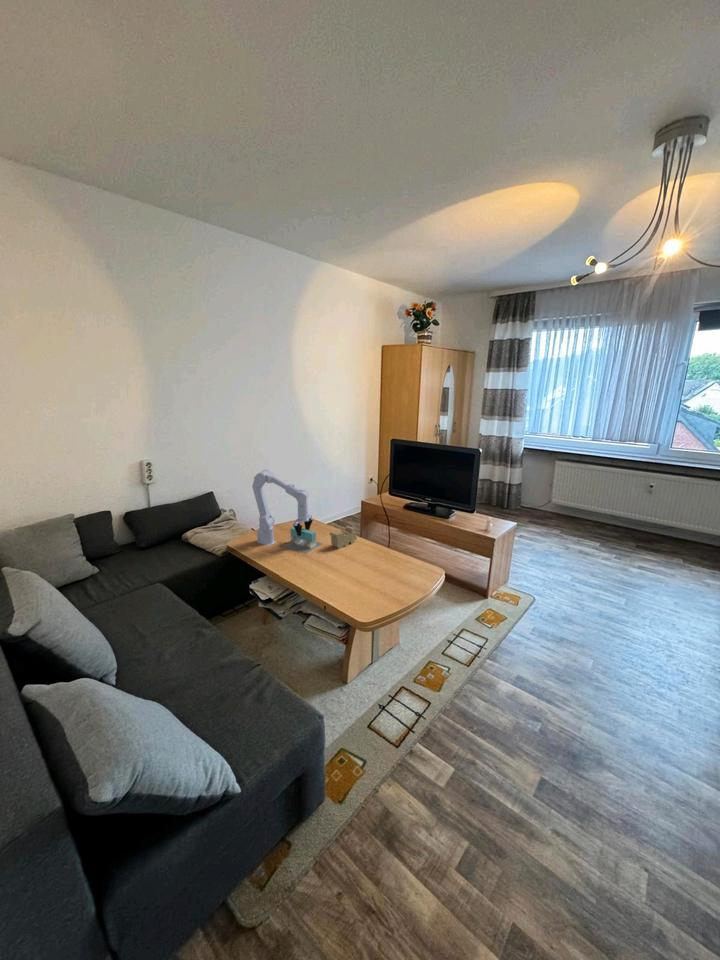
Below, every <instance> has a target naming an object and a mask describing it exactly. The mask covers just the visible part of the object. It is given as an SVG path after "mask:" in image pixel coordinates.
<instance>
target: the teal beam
mask: <svg viewBox="0 0 720 960" xmlns="http://www.w3.org/2000/svg"><path fill="white" fill-rule="evenodd" d="M291 536H292V537H296V538H299V539H303V540H306V541H310V542H313V541H315V540H316V541H317V532H316V531H313V530H311V529H309V530H306V529H305V528H302V529H301V536H298V535H297V532H296V530H295V528H294V526H292V527H290V537H291Z"/></svg>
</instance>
